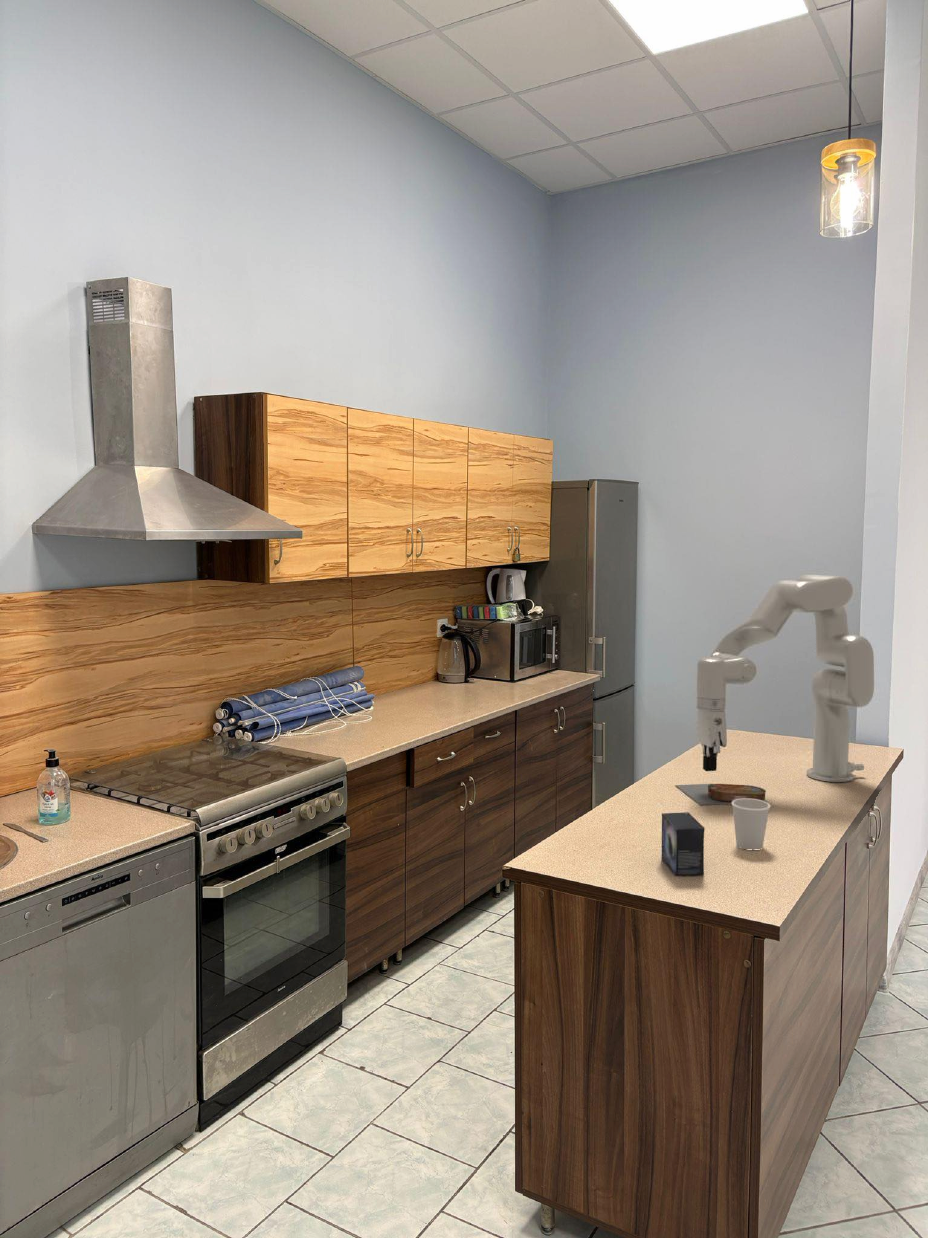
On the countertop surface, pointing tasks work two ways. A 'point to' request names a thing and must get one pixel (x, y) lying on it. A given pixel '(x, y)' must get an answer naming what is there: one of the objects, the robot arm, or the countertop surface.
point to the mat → (700, 794)
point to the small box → (683, 844)
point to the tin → (735, 792)
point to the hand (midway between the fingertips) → (709, 770)
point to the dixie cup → (750, 822)
